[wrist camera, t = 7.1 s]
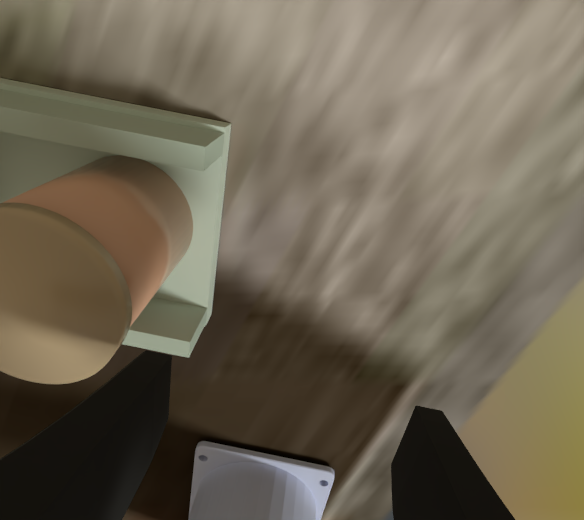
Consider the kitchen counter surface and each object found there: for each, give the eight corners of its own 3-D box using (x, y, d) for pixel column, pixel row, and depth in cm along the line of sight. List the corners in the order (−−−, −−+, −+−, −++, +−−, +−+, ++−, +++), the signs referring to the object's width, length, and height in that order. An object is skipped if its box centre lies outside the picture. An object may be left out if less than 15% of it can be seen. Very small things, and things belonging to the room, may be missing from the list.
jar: (192, 285, 19) (122, 398, 13) (73, 264, 19) (-53, 366, 13) (198, 165, 16) (114, 233, 10) (61, 141, 16) (-101, 195, 10)
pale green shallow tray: (211, 313, 21) (175, 387, 16) (-111, 248, 21) (-234, 303, 16) (231, 123, 16) (191, 150, 12) (-169, 44, 17) (-355, 42, 12)
